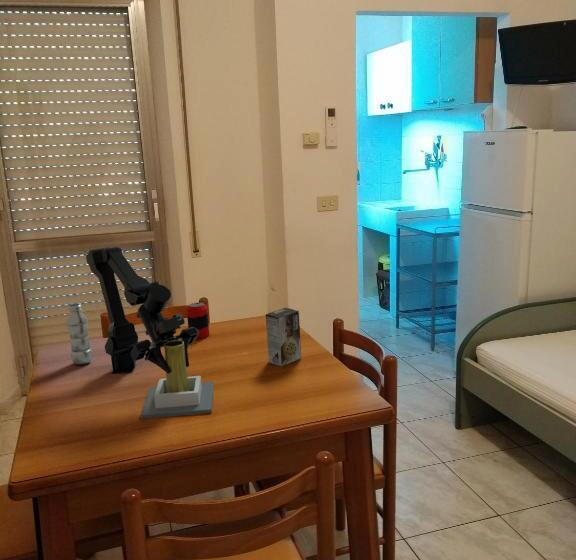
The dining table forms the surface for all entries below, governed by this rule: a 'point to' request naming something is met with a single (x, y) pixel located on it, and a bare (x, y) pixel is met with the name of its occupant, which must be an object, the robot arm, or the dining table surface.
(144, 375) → the dining table surface
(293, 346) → the coffee box
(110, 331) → the robot arm
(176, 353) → the vase
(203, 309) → the soda can
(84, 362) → the plastic bottle
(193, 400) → the holder
